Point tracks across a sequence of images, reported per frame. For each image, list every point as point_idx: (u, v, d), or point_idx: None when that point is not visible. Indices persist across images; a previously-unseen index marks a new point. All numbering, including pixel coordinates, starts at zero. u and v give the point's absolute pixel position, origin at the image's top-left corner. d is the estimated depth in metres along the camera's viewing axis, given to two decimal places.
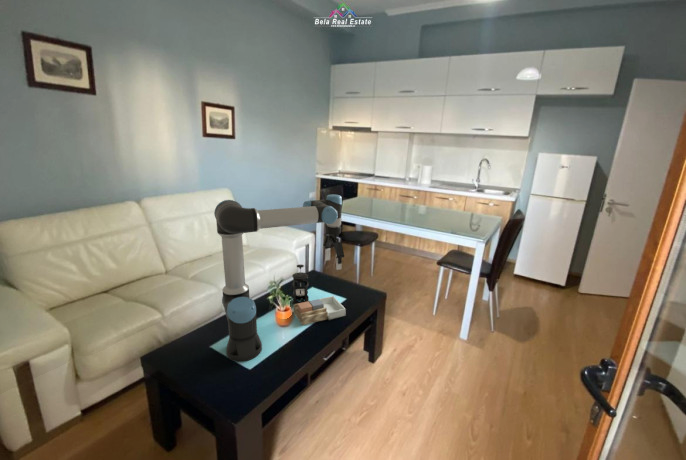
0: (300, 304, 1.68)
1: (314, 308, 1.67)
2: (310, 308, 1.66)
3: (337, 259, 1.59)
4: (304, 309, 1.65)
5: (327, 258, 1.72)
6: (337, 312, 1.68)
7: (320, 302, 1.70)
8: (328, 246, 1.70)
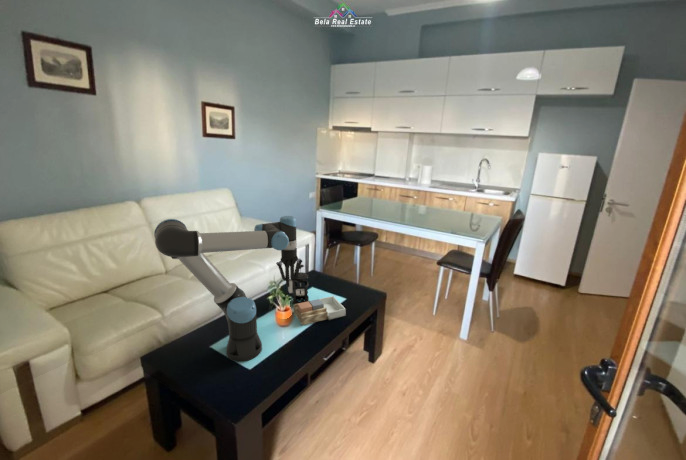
0: (300, 304, 1.68)
1: (314, 308, 1.67)
2: (310, 308, 1.66)
3: None
4: (304, 309, 1.65)
5: None
6: (337, 312, 1.68)
7: (320, 302, 1.70)
8: (291, 275, 1.59)
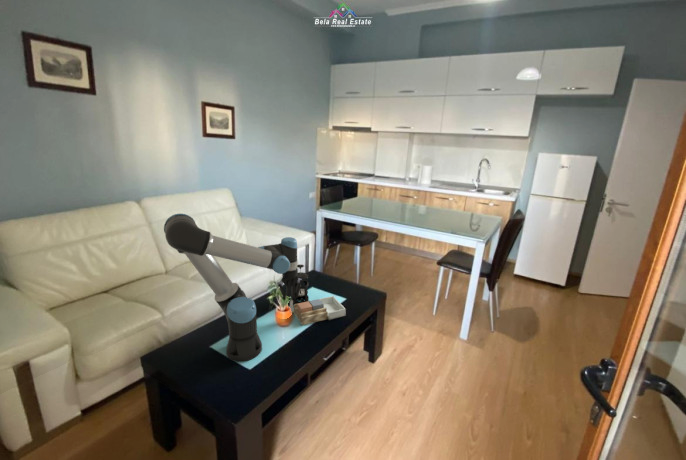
0: (300, 304, 1.68)
1: (314, 308, 1.67)
2: (310, 308, 1.66)
3: None
4: (304, 309, 1.65)
5: None
6: (337, 312, 1.68)
7: (320, 302, 1.70)
8: (291, 295, 1.62)
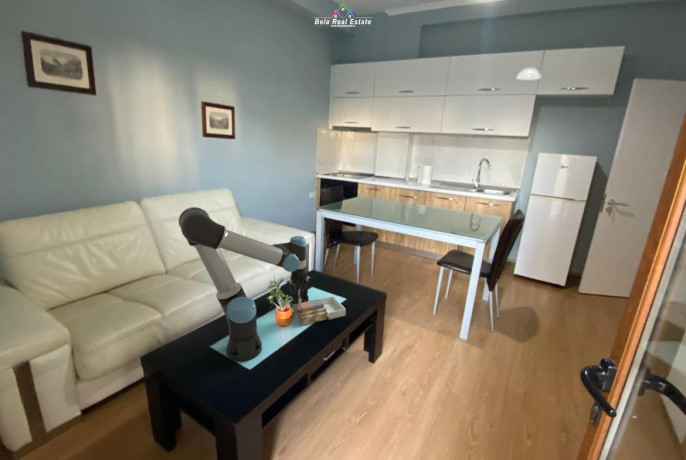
0: None
1: (314, 308, 1.67)
2: (311, 307, 1.66)
3: None
4: (305, 309, 1.65)
5: None
6: (337, 312, 1.68)
7: (320, 302, 1.71)
8: (300, 293, 1.64)
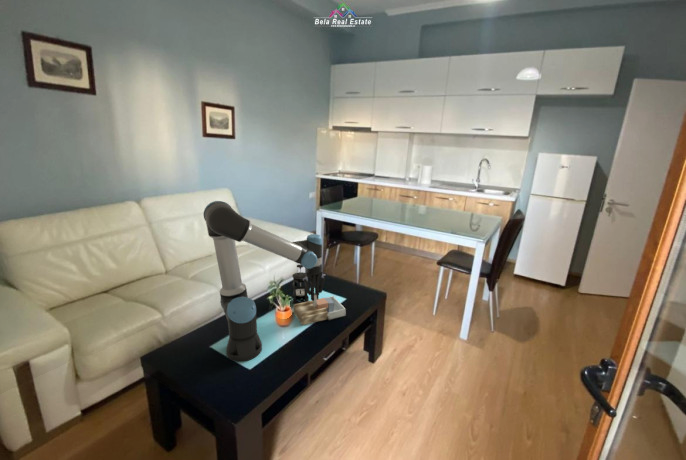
0: None
1: (331, 304, 1.72)
2: (326, 304, 1.70)
3: None
4: (320, 305, 1.69)
5: None
6: (337, 312, 1.68)
7: None
8: (316, 290, 1.68)
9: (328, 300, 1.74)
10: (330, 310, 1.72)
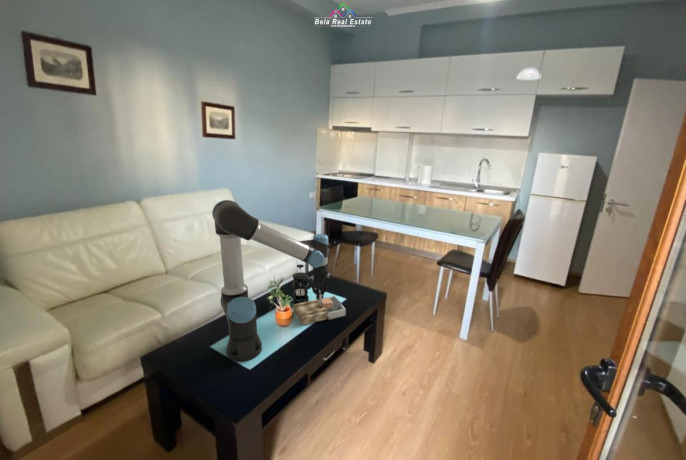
0: None
1: (339, 303, 1.74)
2: (331, 304, 1.72)
3: None
4: (326, 304, 1.70)
5: None
6: (337, 312, 1.68)
7: None
8: (321, 289, 1.70)
9: None
10: (334, 307, 1.73)
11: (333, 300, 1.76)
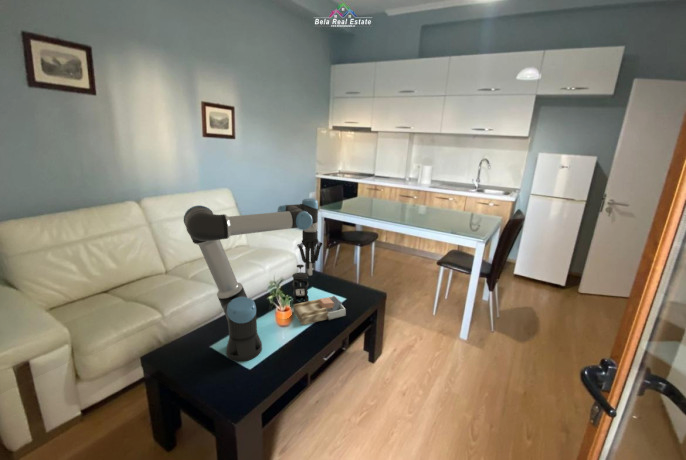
0: (322, 299, 1.74)
1: (339, 302, 1.74)
2: (332, 304, 1.72)
3: None
4: (326, 304, 1.70)
5: None
6: (337, 312, 1.68)
7: None
8: (311, 258, 1.62)
9: (337, 298, 1.76)
10: (334, 307, 1.73)
11: (333, 300, 1.76)
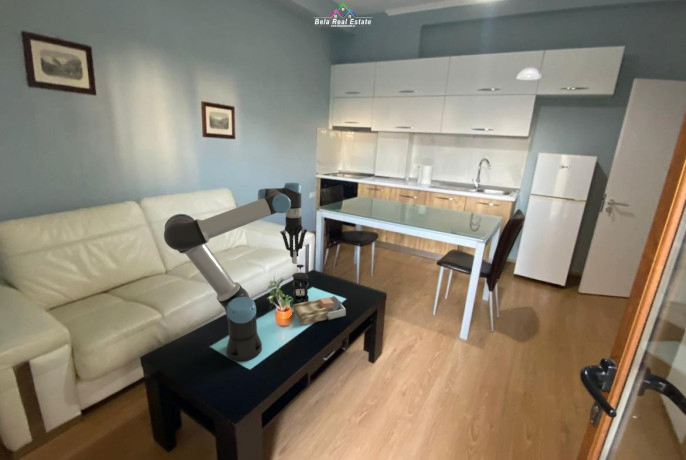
0: (322, 299, 1.74)
1: (339, 302, 1.74)
2: (332, 304, 1.72)
3: None
4: (326, 304, 1.70)
5: None
6: (337, 312, 1.68)
7: None
8: (295, 246, 1.54)
9: (337, 298, 1.76)
10: (334, 307, 1.73)
11: (333, 300, 1.76)
